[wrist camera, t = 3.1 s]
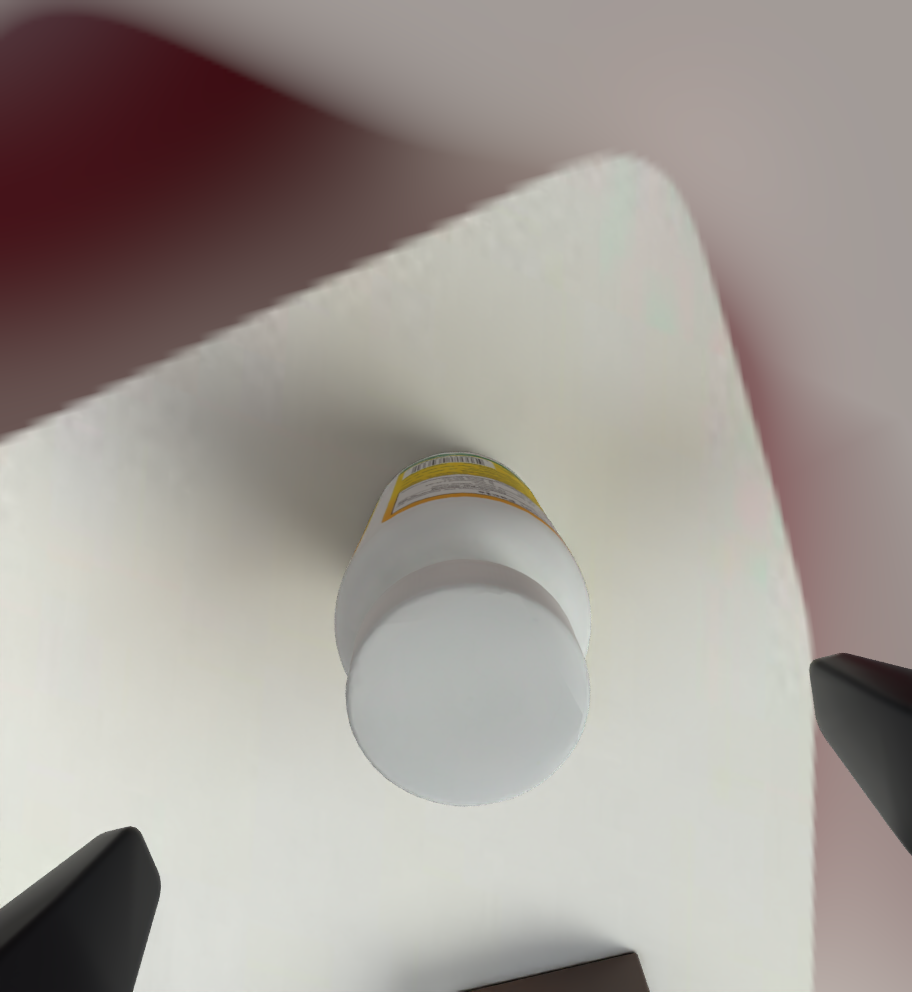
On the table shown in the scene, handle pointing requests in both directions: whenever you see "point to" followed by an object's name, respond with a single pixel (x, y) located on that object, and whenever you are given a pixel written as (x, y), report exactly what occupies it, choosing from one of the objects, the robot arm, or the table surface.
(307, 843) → the table surface
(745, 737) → the table surface
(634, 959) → the step shelf
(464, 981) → the table surface
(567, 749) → the supplement bottle
